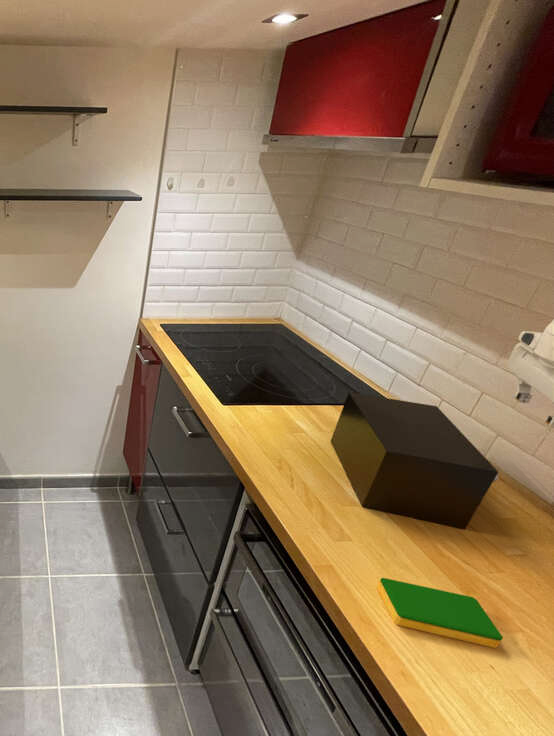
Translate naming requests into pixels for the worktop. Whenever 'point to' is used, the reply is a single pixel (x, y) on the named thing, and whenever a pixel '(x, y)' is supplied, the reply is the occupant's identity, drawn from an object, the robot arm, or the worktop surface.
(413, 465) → the black box
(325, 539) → the worktop surface
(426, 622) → the dish sponge
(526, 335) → the robot arm
